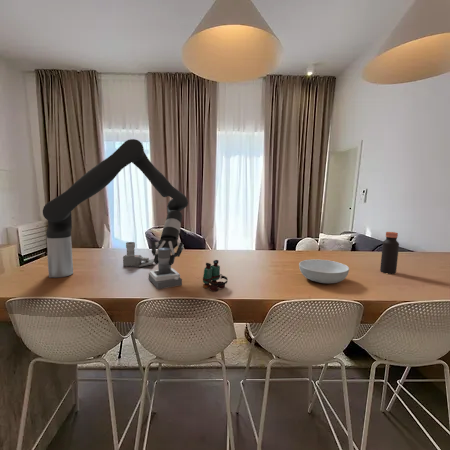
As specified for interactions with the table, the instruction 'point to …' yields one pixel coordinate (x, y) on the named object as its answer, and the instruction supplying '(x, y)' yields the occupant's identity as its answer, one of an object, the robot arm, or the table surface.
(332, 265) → the serving bowl
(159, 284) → the plate
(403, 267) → the table surface
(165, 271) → the lens
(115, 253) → the table surface
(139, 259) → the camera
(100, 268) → the table surface
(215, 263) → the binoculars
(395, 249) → the bottle
